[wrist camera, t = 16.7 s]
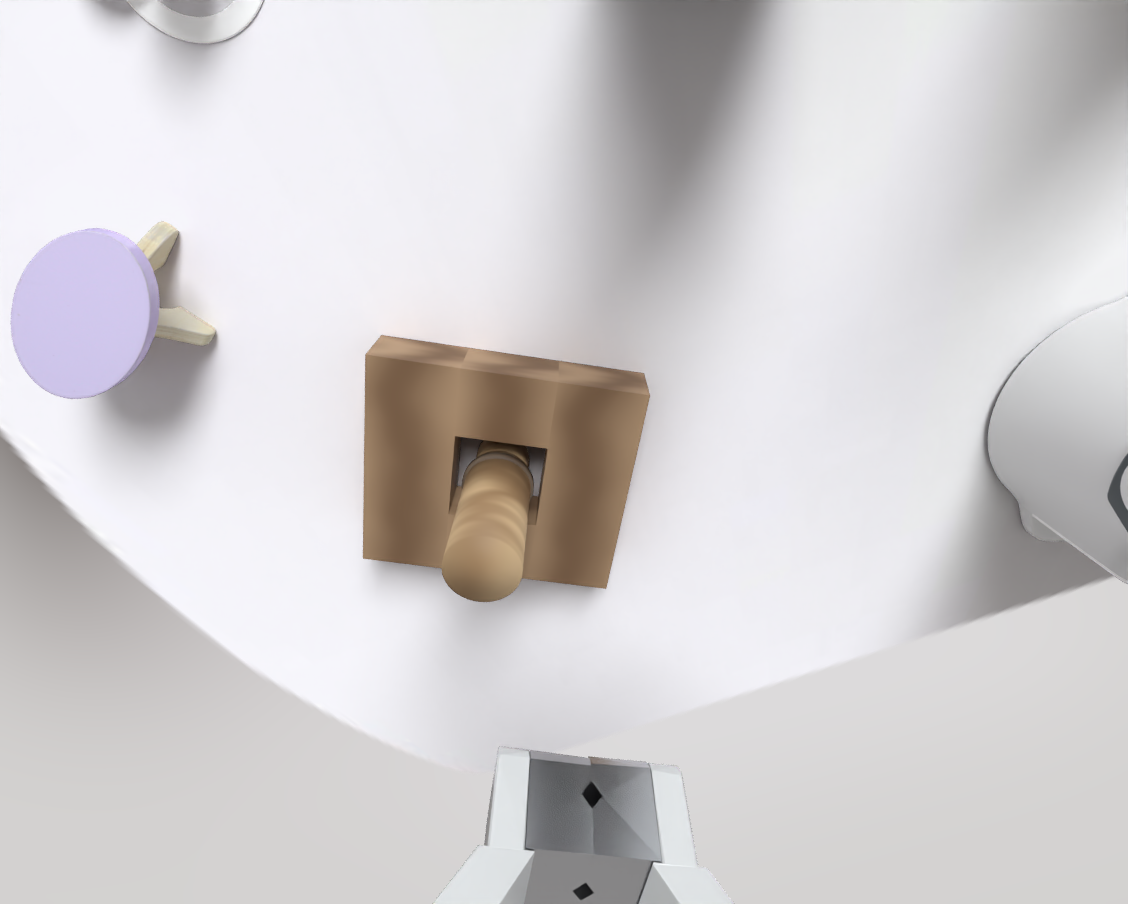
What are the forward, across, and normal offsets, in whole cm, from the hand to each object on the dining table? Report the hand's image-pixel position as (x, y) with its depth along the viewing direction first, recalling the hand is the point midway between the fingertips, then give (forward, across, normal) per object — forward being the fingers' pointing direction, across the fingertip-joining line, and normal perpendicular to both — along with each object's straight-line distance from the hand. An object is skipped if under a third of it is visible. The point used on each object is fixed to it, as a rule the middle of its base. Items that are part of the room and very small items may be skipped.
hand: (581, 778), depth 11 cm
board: (+31, +3, +11) cm, 33 cm away
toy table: (+32, +25, +4) cm, 40 cm away
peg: (+31, +3, +11) cm, 33 cm away
